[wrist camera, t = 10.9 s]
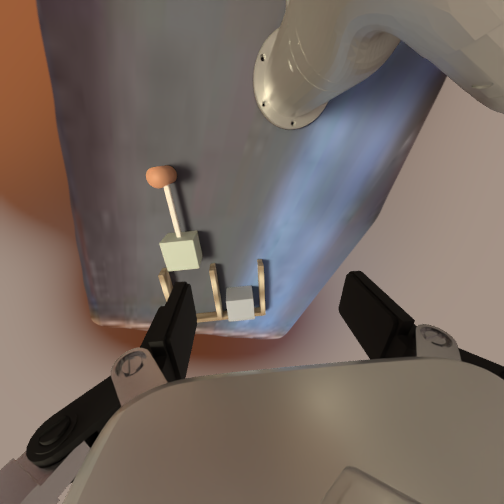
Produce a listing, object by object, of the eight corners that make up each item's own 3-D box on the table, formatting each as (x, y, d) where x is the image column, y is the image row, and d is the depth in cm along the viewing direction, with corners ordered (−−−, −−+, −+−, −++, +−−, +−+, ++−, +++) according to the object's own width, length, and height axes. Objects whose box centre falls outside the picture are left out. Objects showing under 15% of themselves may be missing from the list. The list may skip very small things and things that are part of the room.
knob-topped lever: (148, 166, 34) (133, 168, 29) (183, 163, 35) (174, 165, 29) (174, 259, 43) (166, 274, 37) (202, 256, 43) (198, 270, 37)
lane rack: (162, 268, 43) (158, 275, 40) (261, 259, 44) (263, 265, 42) (178, 318, 50) (174, 327, 47) (263, 309, 51) (265, 318, 48)
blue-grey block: (226, 287, 47) (225, 301, 43) (251, 285, 47) (253, 298, 43) (229, 306, 50) (228, 321, 45) (252, 304, 50) (254, 318, 46)
